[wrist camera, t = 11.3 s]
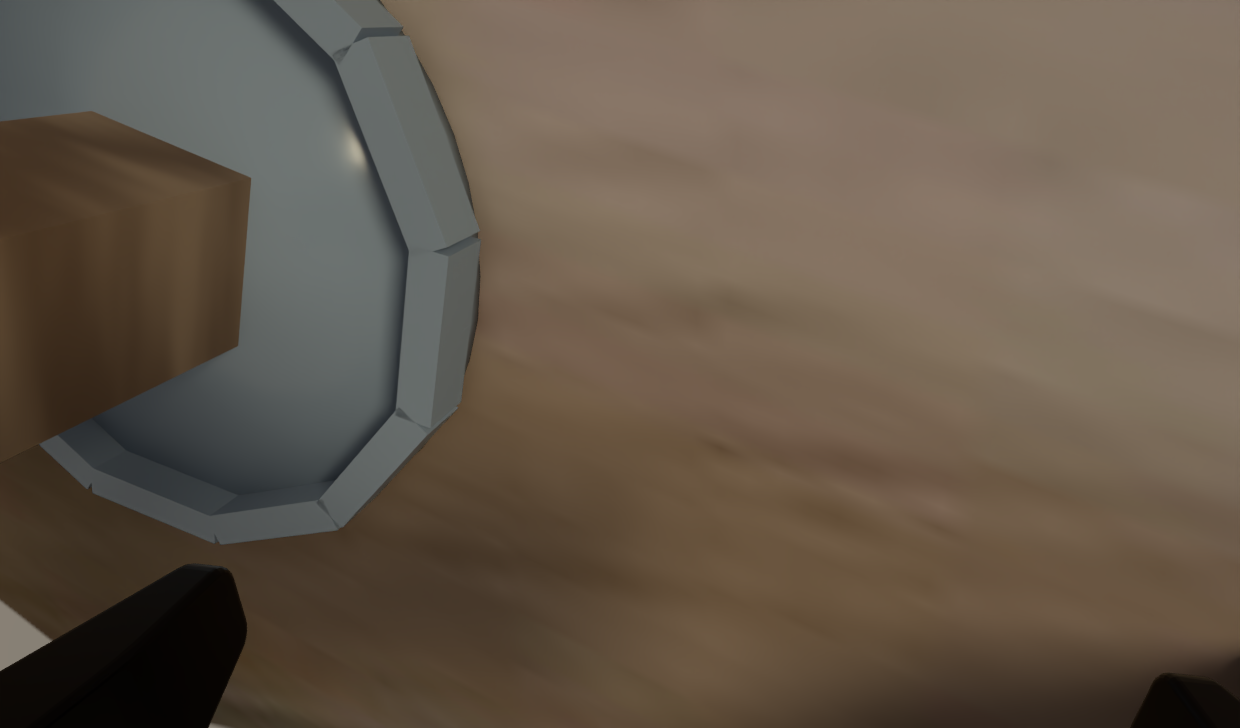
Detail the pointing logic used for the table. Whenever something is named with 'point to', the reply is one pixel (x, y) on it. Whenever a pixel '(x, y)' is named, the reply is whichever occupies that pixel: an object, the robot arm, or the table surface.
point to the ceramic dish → (277, 251)
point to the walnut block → (108, 269)
